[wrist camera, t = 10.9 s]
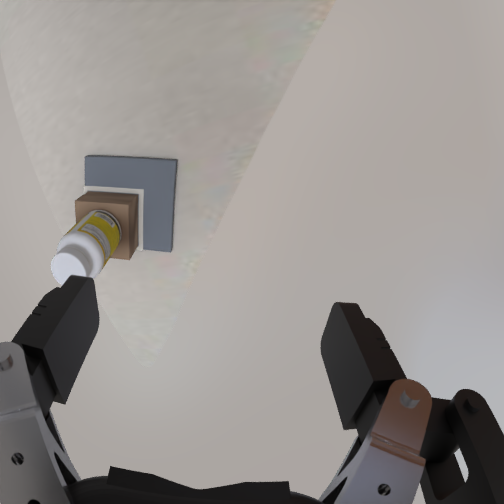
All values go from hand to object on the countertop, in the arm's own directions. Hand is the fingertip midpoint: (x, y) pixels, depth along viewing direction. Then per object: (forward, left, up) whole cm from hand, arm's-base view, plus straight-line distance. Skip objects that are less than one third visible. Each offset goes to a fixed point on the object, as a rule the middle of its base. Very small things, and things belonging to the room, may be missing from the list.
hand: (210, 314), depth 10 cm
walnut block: (+9, -14, -29) cm, 33 cm away
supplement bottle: (+9, -14, -25) cm, 30 cm away
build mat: (+7, -12, -30) cm, 33 cm away
